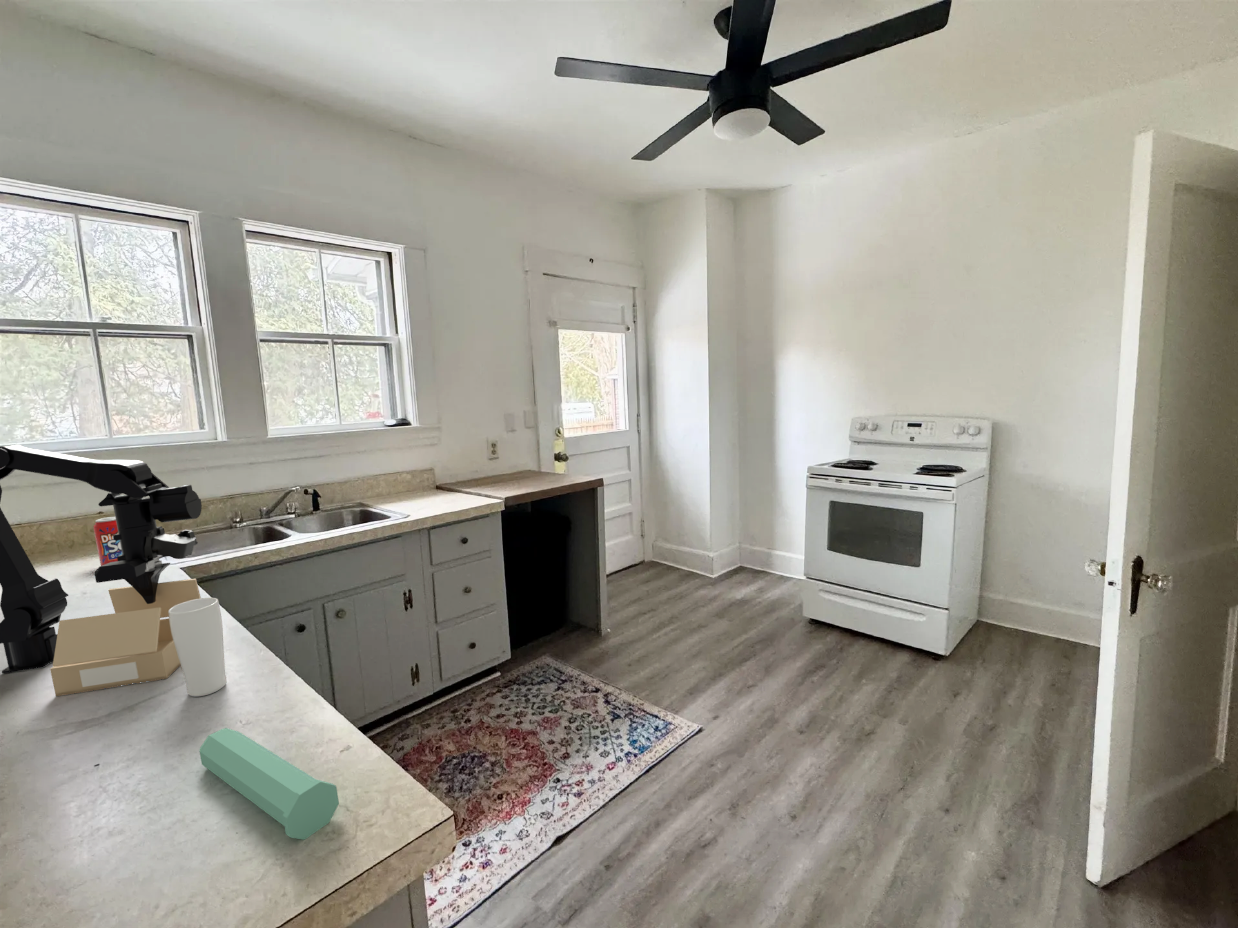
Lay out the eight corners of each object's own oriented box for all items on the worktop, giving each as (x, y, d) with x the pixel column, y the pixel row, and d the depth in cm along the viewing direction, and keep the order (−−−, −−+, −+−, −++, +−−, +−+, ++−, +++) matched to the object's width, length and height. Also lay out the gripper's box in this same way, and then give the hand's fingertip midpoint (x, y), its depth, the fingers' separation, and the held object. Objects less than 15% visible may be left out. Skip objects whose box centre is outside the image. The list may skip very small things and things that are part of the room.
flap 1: (54, 666, 93) (52, 666, 93) (61, 620, 96) (59, 620, 95) (156, 651, 97) (155, 651, 96) (161, 607, 99) (159, 607, 99)
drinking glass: (206, 701, 90) (191, 614, 87) (171, 699, 91) (156, 612, 89) (241, 679, 96) (228, 597, 94) (209, 677, 97) (196, 596, 95)
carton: (55, 697, 94) (49, 669, 93) (119, 649, 111) (114, 625, 110) (166, 679, 98) (161, 652, 97) (211, 635, 115) (207, 613, 114)
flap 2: (108, 590, 108) (109, 588, 109) (118, 623, 110) (119, 622, 111) (194, 579, 112) (195, 578, 112) (203, 612, 114) (204, 610, 115)
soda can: (114, 562, 174) (106, 516, 172) (141, 560, 175) (133, 514, 173) (94, 570, 166) (84, 522, 164) (122, 568, 167) (113, 520, 165)
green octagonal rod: (196, 723, 73) (293, 787, 59) (245, 717, 78) (345, 775, 64) (183, 771, 72) (279, 848, 58) (233, 762, 77) (332, 831, 63)
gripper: (158, 529, 100) (173, 611, 102) (207, 512, 118) (219, 582, 120) (85, 538, 98) (101, 622, 99) (146, 519, 116) (159, 591, 117)
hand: (151, 602), depth 109 cm, fingers closed
